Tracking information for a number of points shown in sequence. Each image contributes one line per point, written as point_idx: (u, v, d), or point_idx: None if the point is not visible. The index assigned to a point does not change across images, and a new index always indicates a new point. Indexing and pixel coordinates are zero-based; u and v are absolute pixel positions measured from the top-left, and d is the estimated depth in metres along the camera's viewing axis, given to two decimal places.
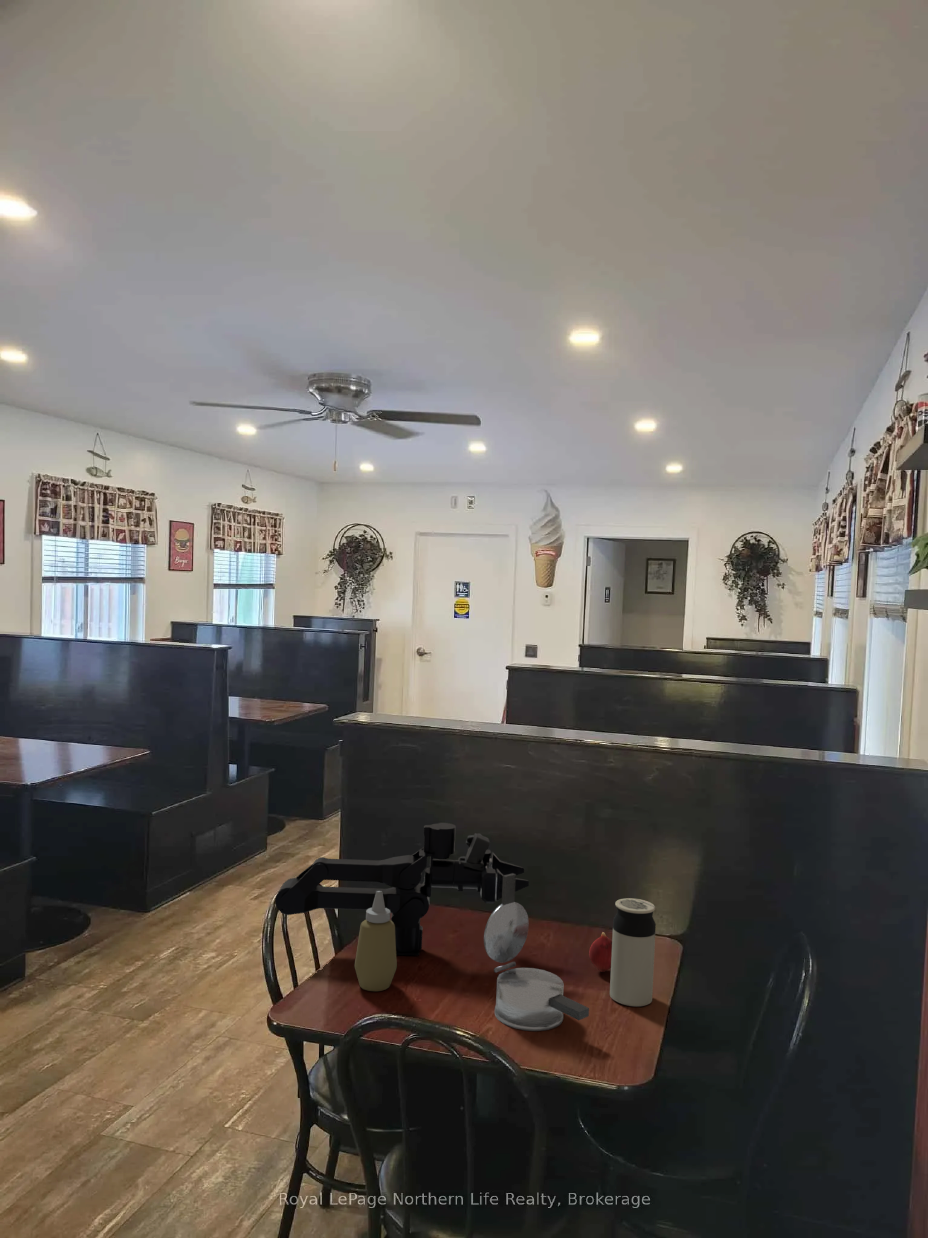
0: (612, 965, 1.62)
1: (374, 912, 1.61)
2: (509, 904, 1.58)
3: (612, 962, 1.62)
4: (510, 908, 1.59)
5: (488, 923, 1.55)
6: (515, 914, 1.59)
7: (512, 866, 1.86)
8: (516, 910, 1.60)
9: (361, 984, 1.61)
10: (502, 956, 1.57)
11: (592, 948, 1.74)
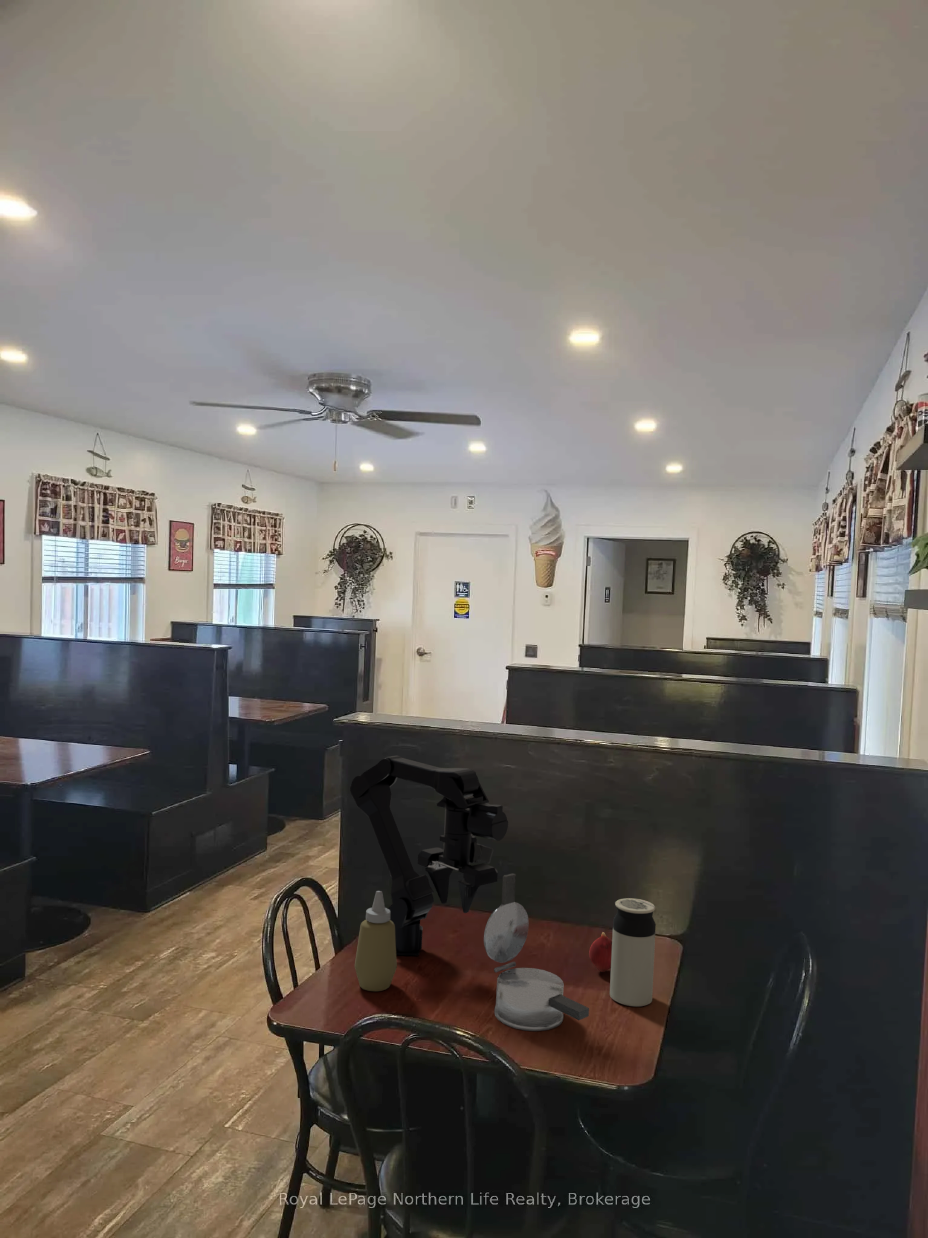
0: (612, 965, 1.62)
1: (374, 912, 1.61)
2: (509, 904, 1.58)
3: (612, 962, 1.62)
4: (510, 908, 1.59)
5: (488, 923, 1.55)
6: (515, 914, 1.59)
7: (447, 890, 1.76)
8: (516, 910, 1.60)
9: (361, 984, 1.61)
10: (502, 956, 1.57)
11: (592, 948, 1.74)
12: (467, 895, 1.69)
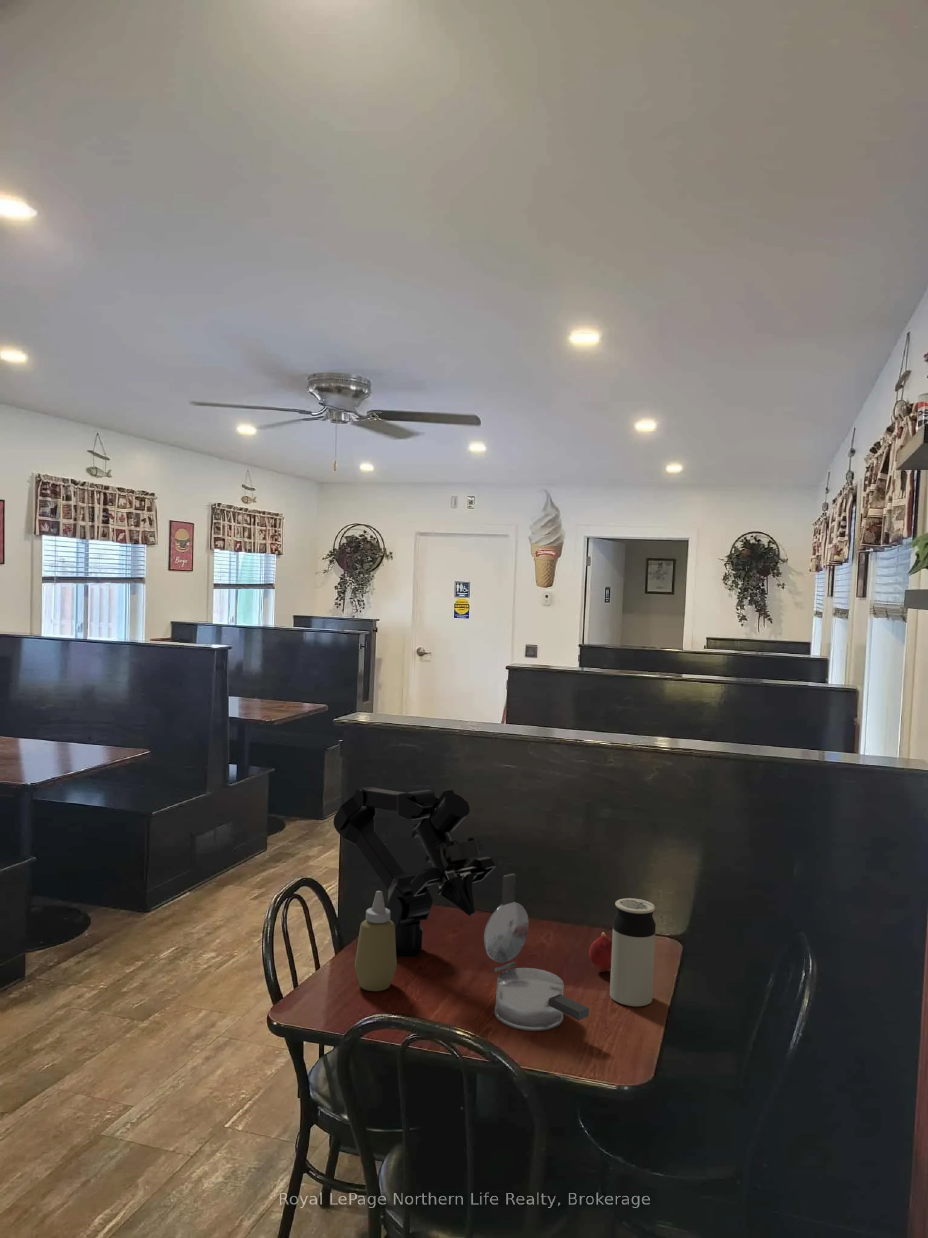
0: (612, 965, 1.62)
1: (374, 912, 1.61)
2: (509, 904, 1.58)
3: (612, 962, 1.62)
4: (510, 908, 1.59)
5: (488, 923, 1.55)
6: (515, 914, 1.59)
7: (469, 900, 1.67)
8: (516, 910, 1.60)
9: (361, 984, 1.61)
10: (502, 956, 1.57)
11: (592, 948, 1.74)
12: (455, 900, 1.67)
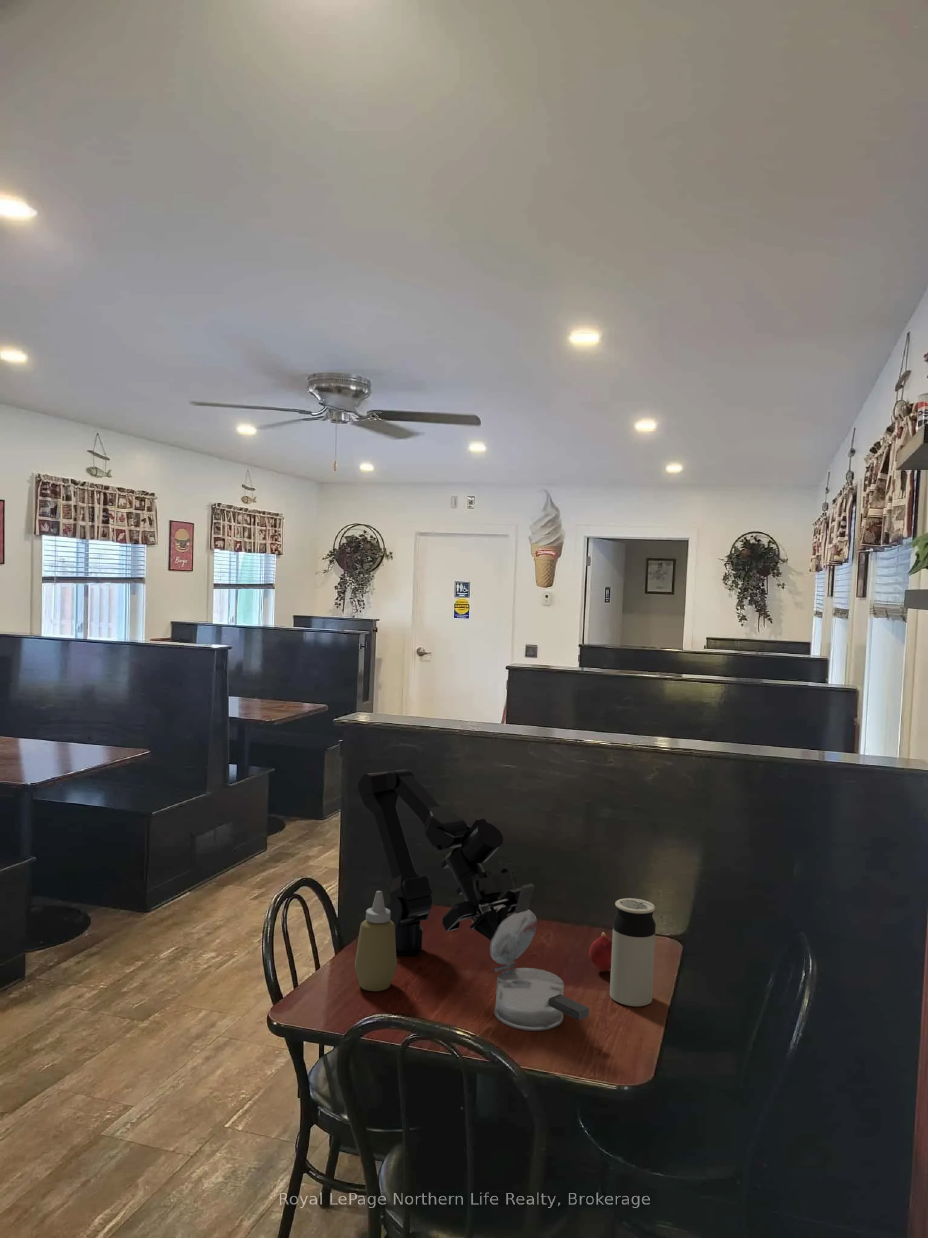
0: (612, 965, 1.62)
1: (374, 912, 1.61)
2: (522, 912, 1.56)
3: (612, 962, 1.62)
4: (522, 916, 1.56)
5: (498, 929, 1.53)
6: (525, 921, 1.57)
7: None
8: (527, 917, 1.57)
9: (361, 984, 1.61)
10: (505, 958, 1.57)
11: (592, 948, 1.74)
12: (489, 934, 1.60)
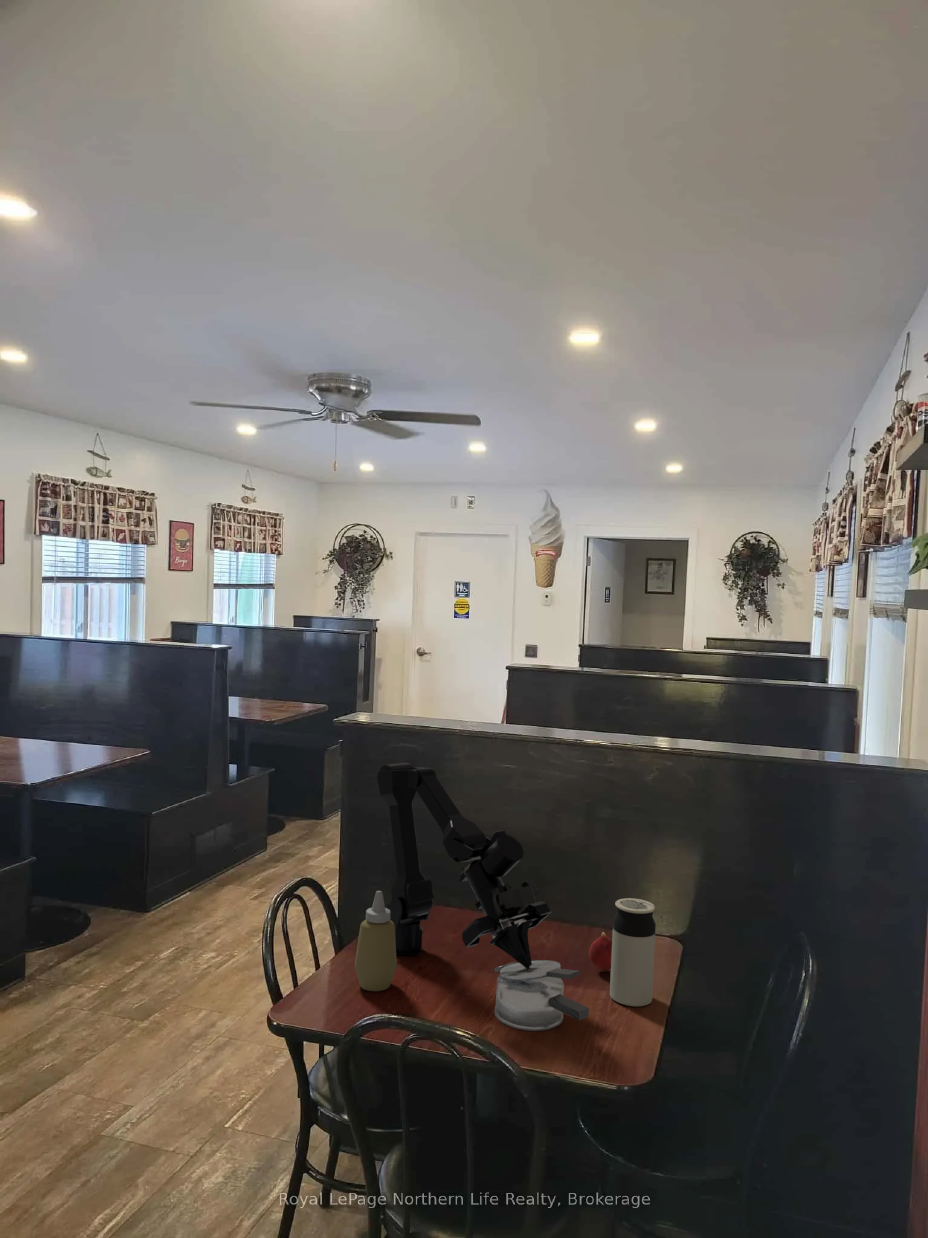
0: (612, 965, 1.62)
1: (374, 912, 1.61)
2: None
3: (612, 962, 1.62)
4: None
5: (521, 978, 1.49)
6: None
7: (525, 950, 1.55)
8: None
9: (361, 984, 1.61)
10: None
11: (592, 948, 1.74)
12: (510, 950, 1.56)
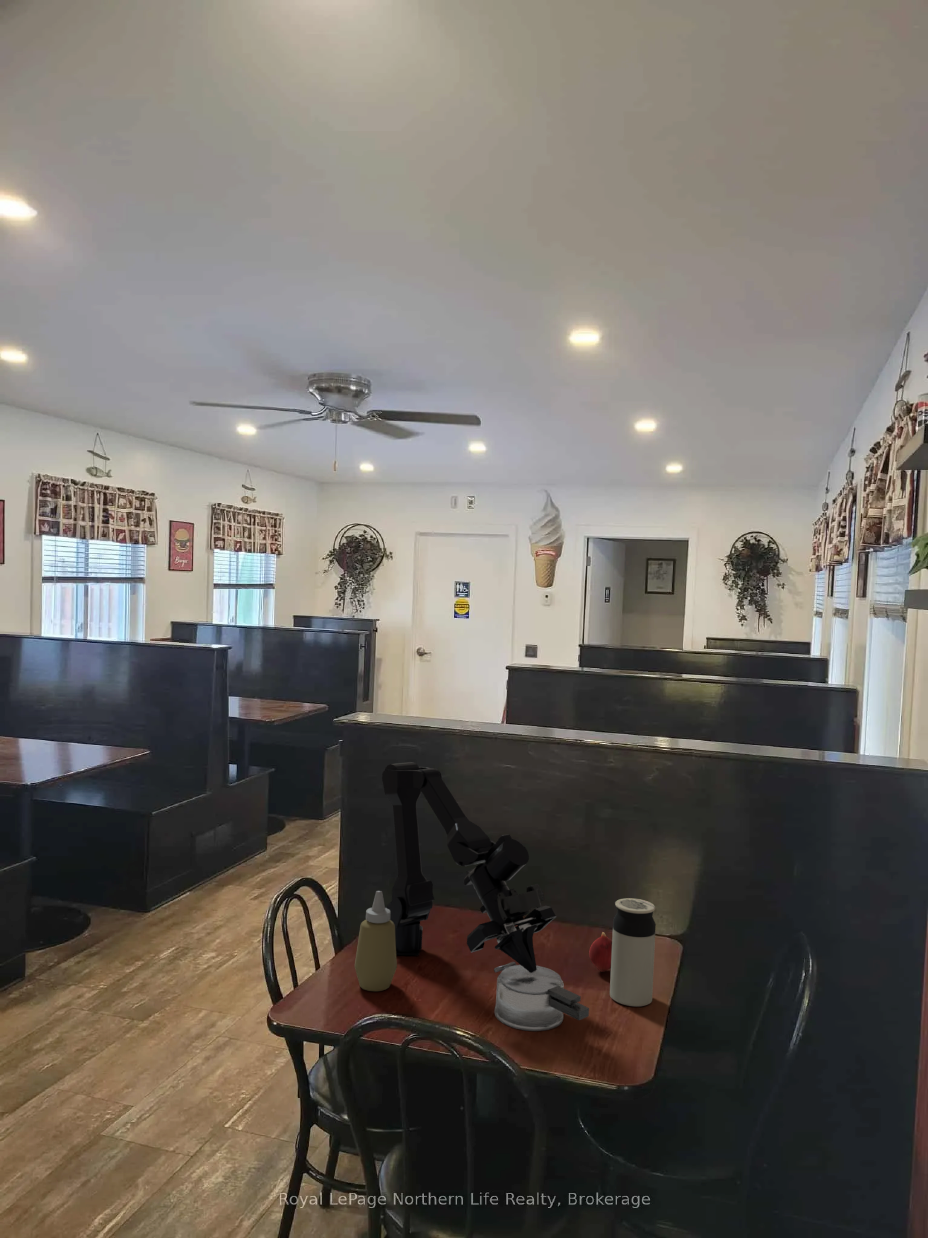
0: (612, 965, 1.62)
1: (374, 912, 1.61)
2: None
3: (612, 962, 1.62)
4: None
5: (522, 991, 1.49)
6: None
7: (530, 955, 1.54)
8: None
9: (361, 984, 1.61)
10: None
11: (592, 948, 1.74)
12: (514, 955, 1.55)
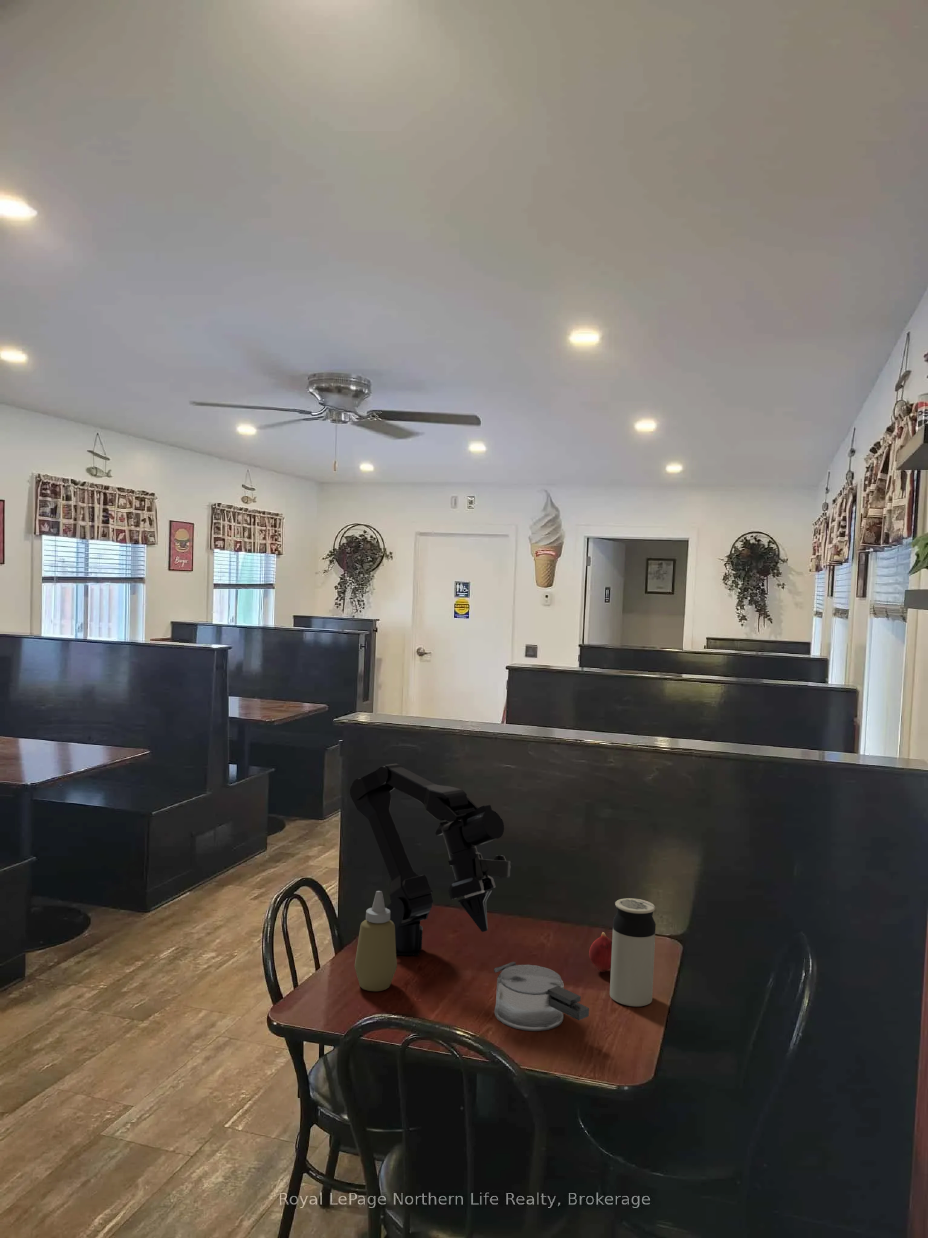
0: (612, 965, 1.62)
1: (374, 912, 1.61)
2: None
3: (612, 962, 1.62)
4: None
5: (522, 991, 1.49)
6: None
7: None
8: None
9: (361, 984, 1.61)
10: None
11: (592, 948, 1.74)
12: (473, 912, 1.65)
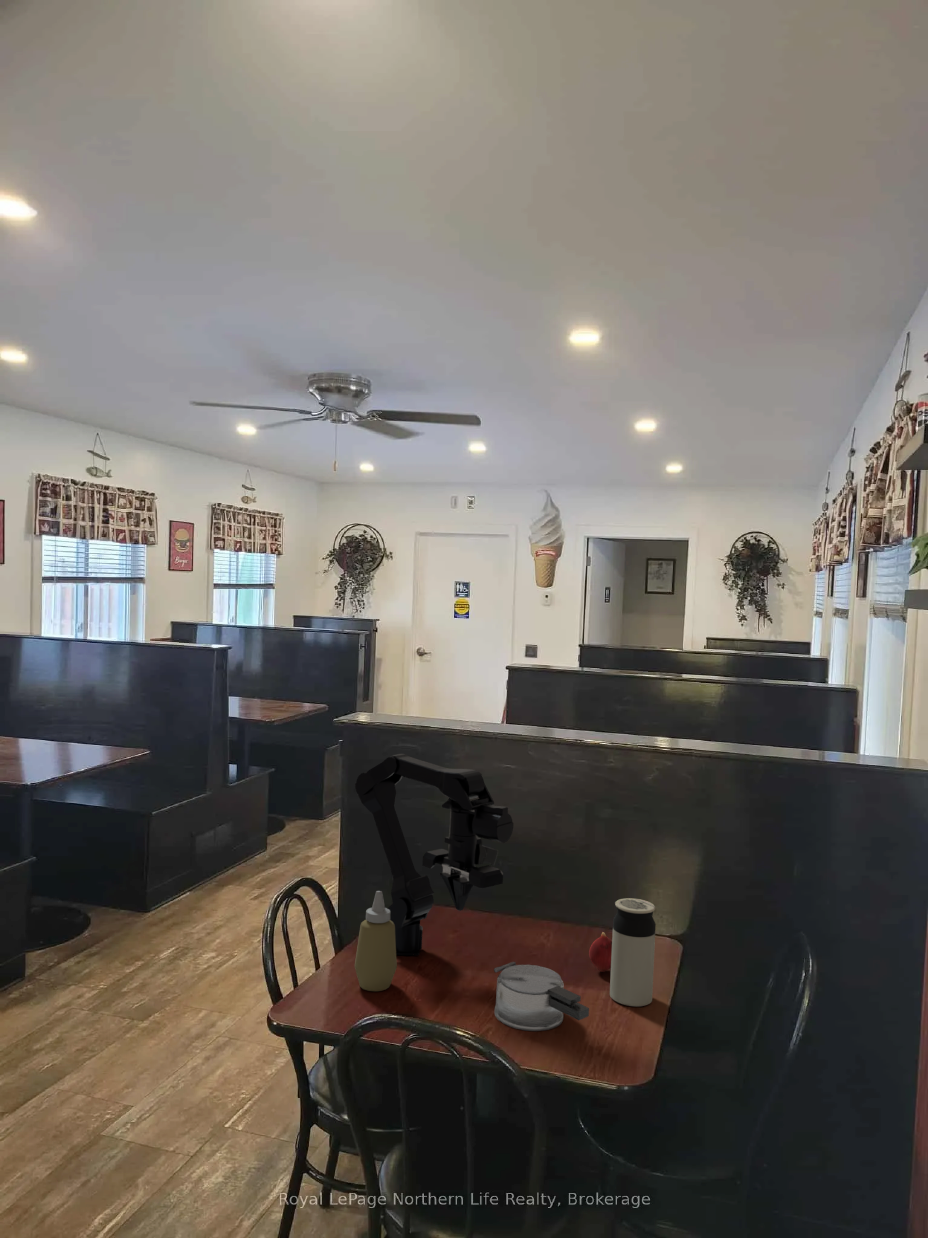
0: (612, 965, 1.62)
1: (374, 912, 1.61)
2: None
3: (612, 962, 1.62)
4: None
5: (522, 991, 1.49)
6: None
7: None
8: None
9: (361, 984, 1.61)
10: None
11: (592, 948, 1.74)
12: (462, 893, 1.71)
